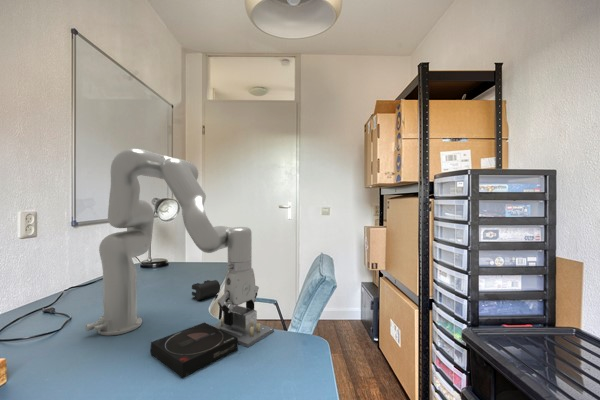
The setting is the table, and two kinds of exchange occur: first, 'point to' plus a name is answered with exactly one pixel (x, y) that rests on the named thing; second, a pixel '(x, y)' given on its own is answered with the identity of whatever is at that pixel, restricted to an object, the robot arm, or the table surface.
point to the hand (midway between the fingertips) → (239, 319)
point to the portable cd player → (193, 348)
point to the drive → (242, 320)
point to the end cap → (205, 289)
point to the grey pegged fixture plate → (249, 338)
